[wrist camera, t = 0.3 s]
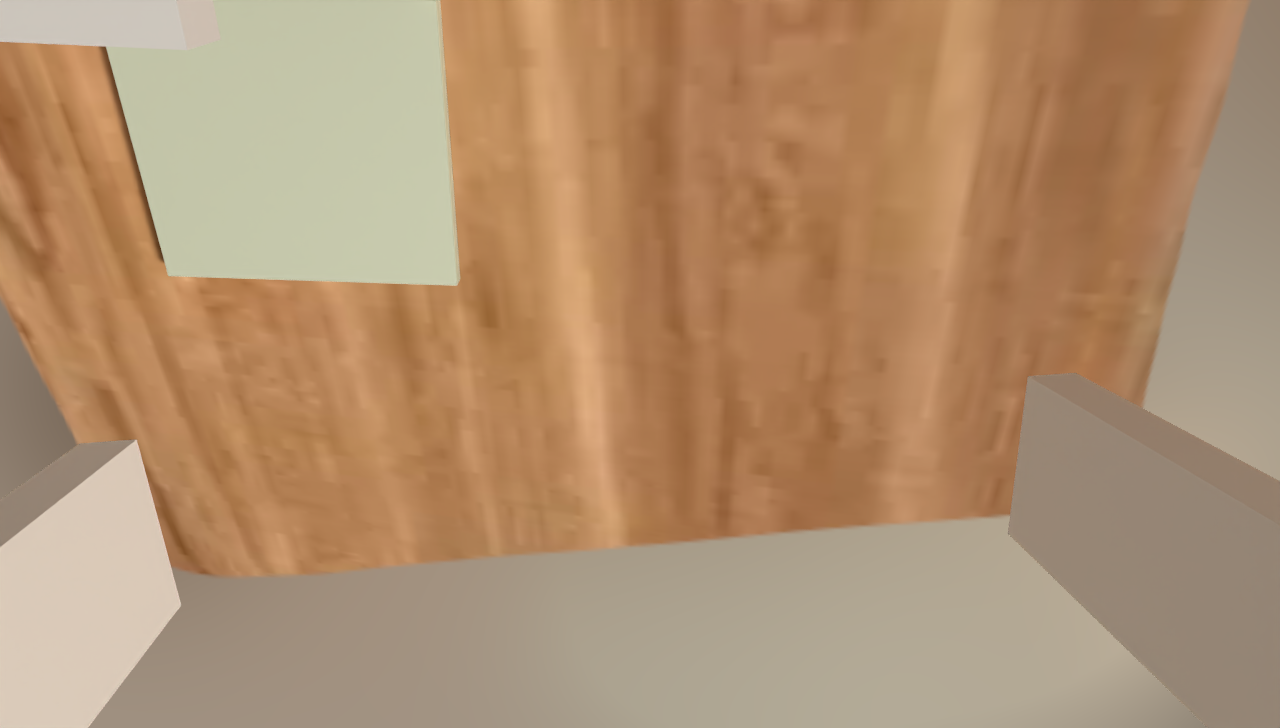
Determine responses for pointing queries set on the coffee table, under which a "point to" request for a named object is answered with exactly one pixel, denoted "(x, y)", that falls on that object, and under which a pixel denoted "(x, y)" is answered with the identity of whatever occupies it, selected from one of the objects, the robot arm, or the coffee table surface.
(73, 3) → the white stool
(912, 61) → the coffee table surface
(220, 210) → the pad
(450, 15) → the coffee table surface
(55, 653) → the robot arm
